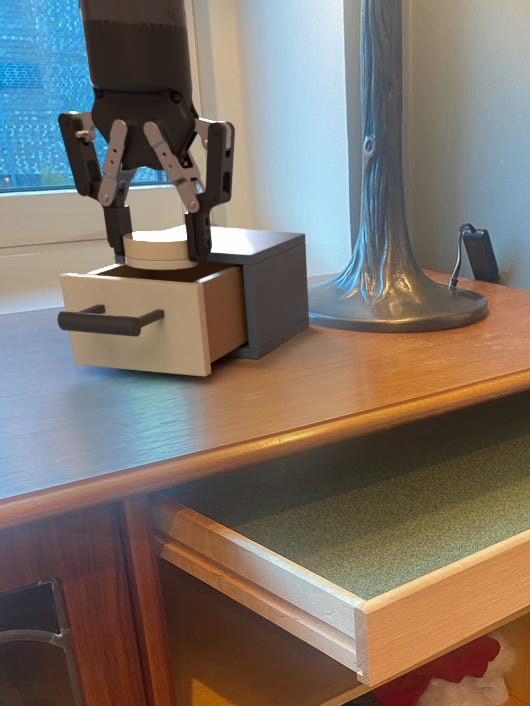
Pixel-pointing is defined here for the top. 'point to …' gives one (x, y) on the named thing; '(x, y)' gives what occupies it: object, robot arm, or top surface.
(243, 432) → the top surface
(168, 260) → the cream short cylinder
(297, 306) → the cabinet
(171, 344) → the drawer
